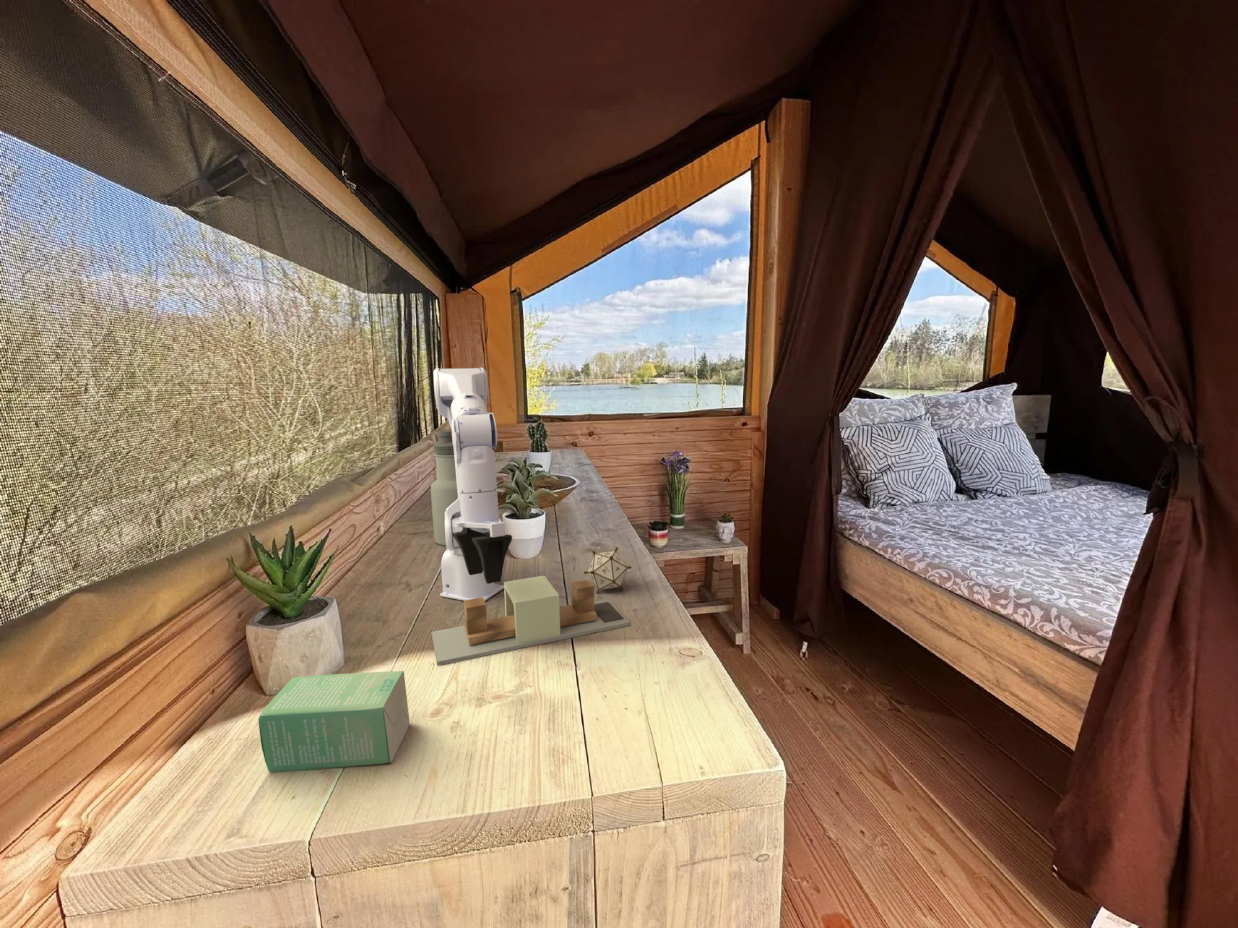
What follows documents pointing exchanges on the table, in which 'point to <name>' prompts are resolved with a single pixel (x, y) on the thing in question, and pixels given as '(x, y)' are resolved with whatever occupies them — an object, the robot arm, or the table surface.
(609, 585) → the game die
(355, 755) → the box
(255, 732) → the table surface
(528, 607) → the tunnel
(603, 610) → the pit
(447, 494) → the water bottle
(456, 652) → the track board
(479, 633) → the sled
